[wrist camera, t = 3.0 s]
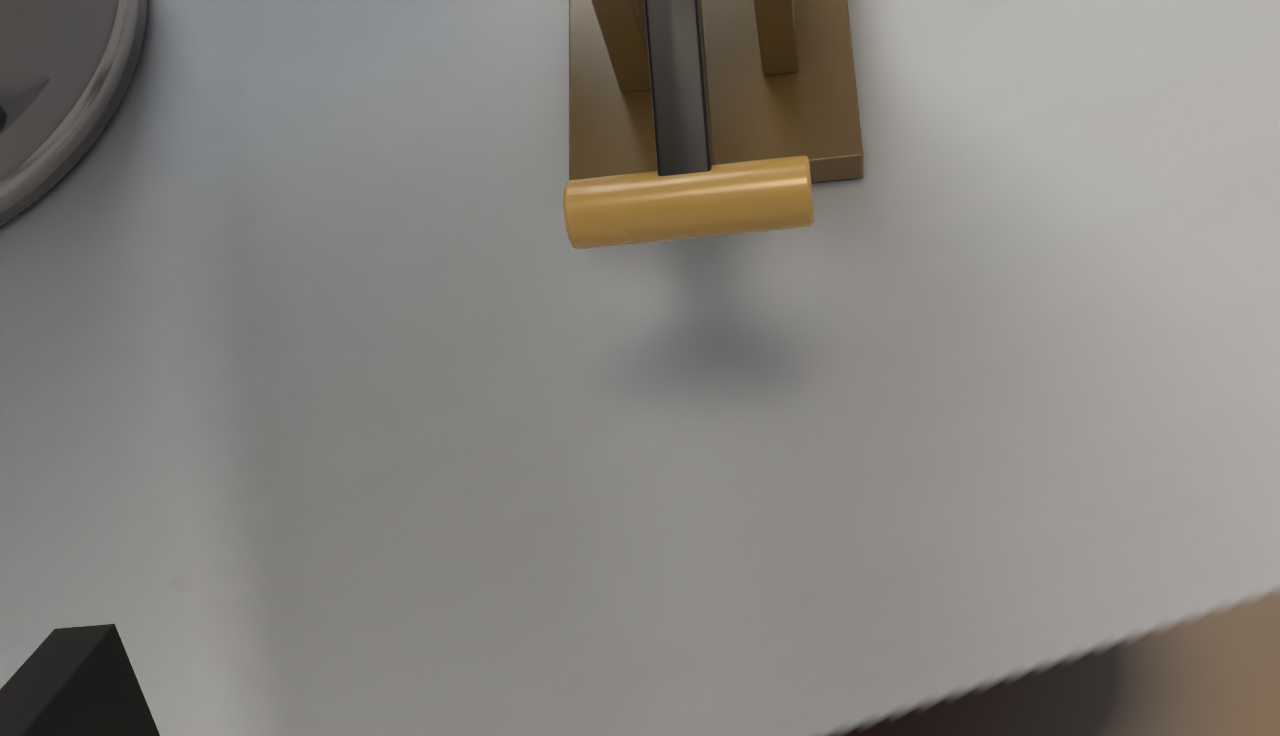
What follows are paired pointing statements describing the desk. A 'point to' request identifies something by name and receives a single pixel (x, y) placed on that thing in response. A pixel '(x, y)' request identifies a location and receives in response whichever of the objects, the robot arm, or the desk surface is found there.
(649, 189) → the pivoting switch lever
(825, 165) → the bracket
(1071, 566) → the desk surface
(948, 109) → the desk surface
